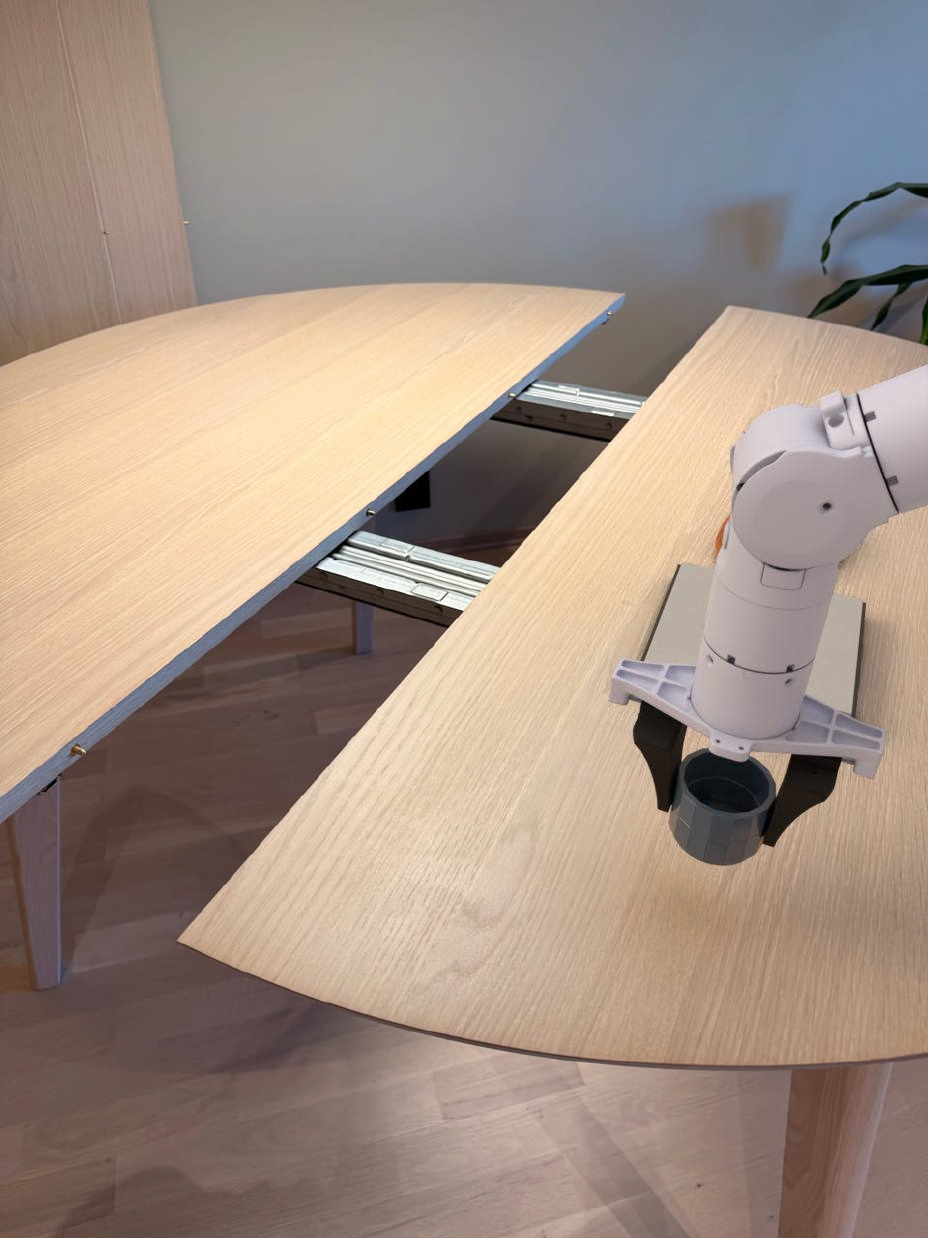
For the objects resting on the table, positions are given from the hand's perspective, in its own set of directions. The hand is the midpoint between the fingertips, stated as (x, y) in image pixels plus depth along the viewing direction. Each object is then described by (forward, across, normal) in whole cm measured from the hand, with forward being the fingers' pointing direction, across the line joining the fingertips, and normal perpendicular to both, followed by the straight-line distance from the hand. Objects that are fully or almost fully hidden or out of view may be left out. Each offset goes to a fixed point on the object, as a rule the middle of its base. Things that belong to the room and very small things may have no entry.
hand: (717, 816), depth 57 cm
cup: (+1, 0, 0) cm, 1 cm away
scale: (+8, -2, +27) cm, 29 cm away
